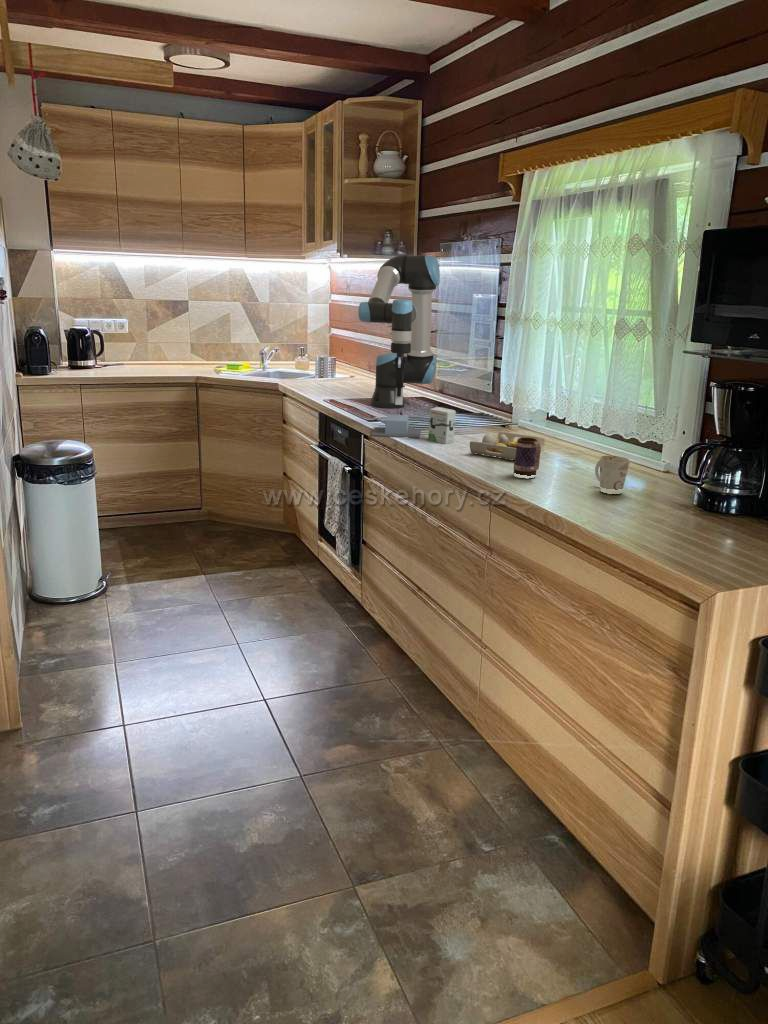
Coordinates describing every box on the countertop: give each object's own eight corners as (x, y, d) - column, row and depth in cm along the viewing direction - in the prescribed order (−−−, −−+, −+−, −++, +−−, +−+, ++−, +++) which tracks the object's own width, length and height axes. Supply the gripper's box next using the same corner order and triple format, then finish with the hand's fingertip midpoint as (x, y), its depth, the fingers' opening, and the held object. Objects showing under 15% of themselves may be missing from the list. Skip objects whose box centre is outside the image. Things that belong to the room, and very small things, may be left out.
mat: (374, 428, 306) (374, 427, 305) (420, 430, 304) (421, 429, 304) (370, 436, 292) (370, 434, 292) (419, 438, 291) (419, 437, 291)
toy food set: (517, 464, 259) (519, 441, 257) (467, 456, 268) (469, 434, 266) (545, 450, 280) (547, 429, 277) (498, 443, 289) (500, 422, 286)
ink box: (427, 440, 288) (429, 408, 285) (436, 438, 292) (437, 406, 288) (446, 444, 283) (447, 411, 279) (454, 442, 286) (456, 410, 282)
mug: (608, 497, 223) (612, 463, 220) (581, 486, 234) (584, 453, 231) (631, 495, 227) (636, 461, 224) (603, 483, 237) (607, 451, 234)
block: (388, 414, 305) (385, 420, 293) (408, 415, 304) (406, 421, 293) (387, 427, 306) (385, 433, 295) (408, 428, 306) (406, 434, 294)
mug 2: (508, 474, 245) (511, 436, 241) (529, 473, 247) (532, 435, 244) (524, 482, 236) (528, 443, 232) (545, 481, 238) (549, 442, 234)
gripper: (392, 340, 303) (390, 401, 310) (389, 343, 290) (387, 407, 298) (411, 340, 302) (409, 401, 309) (410, 344, 290) (407, 408, 297)
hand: (398, 404), depth 304 cm, fingers closed
